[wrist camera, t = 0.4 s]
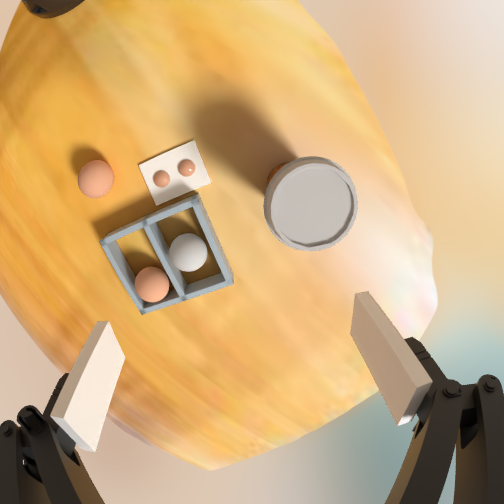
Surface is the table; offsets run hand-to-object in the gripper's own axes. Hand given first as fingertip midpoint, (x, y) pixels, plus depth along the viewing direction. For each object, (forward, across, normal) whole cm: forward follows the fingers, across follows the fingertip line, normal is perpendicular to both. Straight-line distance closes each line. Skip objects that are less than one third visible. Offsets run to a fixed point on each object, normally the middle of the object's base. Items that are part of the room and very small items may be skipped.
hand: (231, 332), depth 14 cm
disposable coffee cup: (+26, +8, +2) cm, 27 cm away
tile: (+25, -6, +5) cm, 27 cm away
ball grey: (+25, -6, -5) cm, 27 cm away
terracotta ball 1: (+26, -17, +7) cm, 31 cm away
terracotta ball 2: (+25, -12, -9) cm, 30 cm away
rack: (+25, -9, -6) cm, 28 cm away
